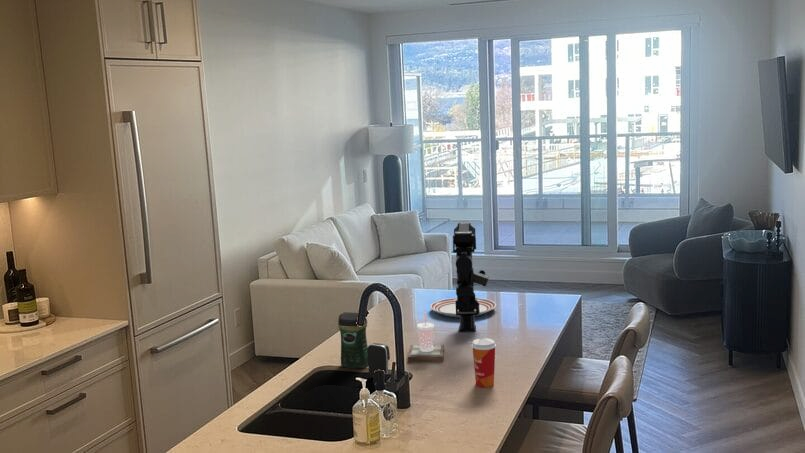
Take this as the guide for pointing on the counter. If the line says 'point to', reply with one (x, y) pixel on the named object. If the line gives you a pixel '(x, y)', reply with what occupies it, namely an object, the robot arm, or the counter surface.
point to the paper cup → (484, 362)
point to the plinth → (426, 354)
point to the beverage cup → (426, 336)
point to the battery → (377, 357)
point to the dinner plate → (449, 309)
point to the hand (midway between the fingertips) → (465, 307)
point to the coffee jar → (352, 341)
